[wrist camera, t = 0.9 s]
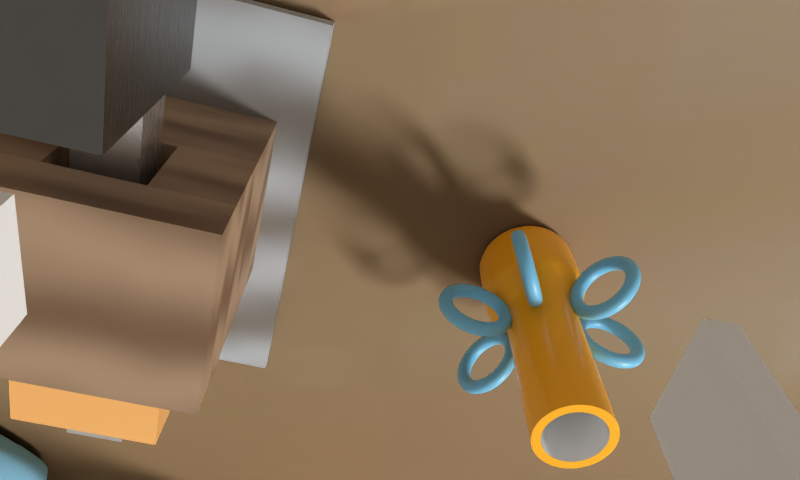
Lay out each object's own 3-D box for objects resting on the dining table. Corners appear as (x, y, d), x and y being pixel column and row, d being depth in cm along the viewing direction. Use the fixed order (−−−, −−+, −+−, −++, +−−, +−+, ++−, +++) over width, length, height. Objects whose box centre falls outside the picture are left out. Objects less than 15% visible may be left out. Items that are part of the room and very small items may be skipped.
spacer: (73, 277, 39) (7, 360, 33) (200, 303, 40) (161, 389, 34) (72, 330, 41) (10, 418, 35) (193, 354, 42) (155, 445, 36)
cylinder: (412, 306, 45) (413, 488, 32) (459, 170, 40) (484, 319, 27) (580, 346, 47) (647, 534, 34) (646, 218, 42) (754, 382, 29)
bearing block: (27, -58, 34) (-181, -12, 22) (334, 21, 36) (297, 105, 24) (35, 312, 46) (-99, 476, 34) (267, 358, 48) (219, 530, 36)
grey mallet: (77, -80, 27) (-77, -51, 19) (202, -47, 28) (107, -4, 19) (71, 391, 40) (-23, 540, 31) (157, 407, 40) (88, 558, 32)
